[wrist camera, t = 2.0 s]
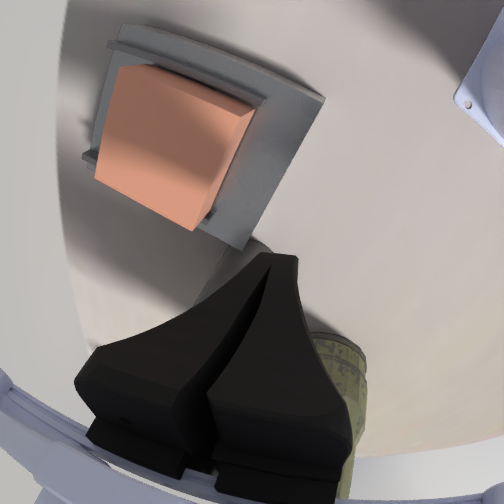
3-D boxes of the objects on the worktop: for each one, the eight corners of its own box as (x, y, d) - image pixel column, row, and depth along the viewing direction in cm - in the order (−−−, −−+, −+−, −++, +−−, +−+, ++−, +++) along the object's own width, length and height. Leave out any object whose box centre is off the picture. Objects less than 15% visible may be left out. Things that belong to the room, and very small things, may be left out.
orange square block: (255, 108, 15) (240, 117, 13) (209, 210, 19) (192, 231, 17) (147, 63, 14) (119, 67, 12) (119, 163, 18) (94, 178, 16)
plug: (288, 257, 22) (264, 332, 17) (263, 293, 25) (236, 366, 19) (236, 229, 22) (195, 296, 17) (216, 268, 25) (177, 336, 19)
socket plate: (325, 98, 16) (322, 105, 13) (252, 231, 22) (238, 258, 19) (145, 24, 16) (113, 23, 13) (108, 155, 22) (79, 172, 19)
